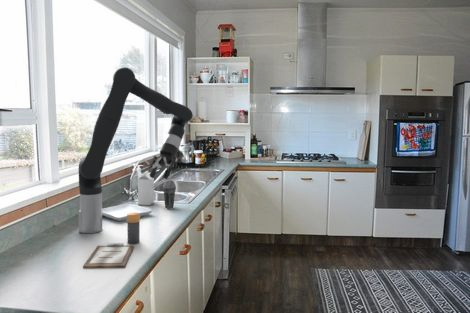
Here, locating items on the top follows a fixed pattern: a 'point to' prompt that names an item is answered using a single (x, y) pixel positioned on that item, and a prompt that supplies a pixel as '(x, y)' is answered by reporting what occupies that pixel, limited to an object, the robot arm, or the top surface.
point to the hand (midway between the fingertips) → (158, 177)
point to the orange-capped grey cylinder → (133, 228)
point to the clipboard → (109, 256)
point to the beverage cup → (169, 193)
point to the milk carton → (145, 189)
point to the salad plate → (124, 211)
